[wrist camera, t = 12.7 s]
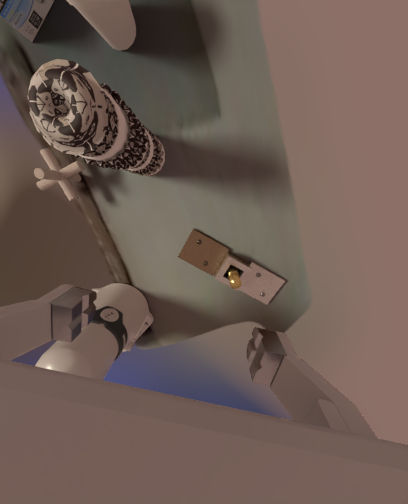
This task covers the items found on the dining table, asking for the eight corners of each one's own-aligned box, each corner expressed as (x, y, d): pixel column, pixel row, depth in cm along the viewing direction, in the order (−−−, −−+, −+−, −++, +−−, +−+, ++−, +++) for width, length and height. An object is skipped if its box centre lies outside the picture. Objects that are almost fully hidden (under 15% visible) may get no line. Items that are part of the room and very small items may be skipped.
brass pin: (235, 272, 49) (240, 289, 40) (225, 271, 49) (228, 287, 40) (237, 264, 48) (242, 279, 39) (227, 262, 48) (231, 277, 39)
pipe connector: (82, 145, 41) (44, 131, 32) (106, 189, 44) (77, 188, 34) (46, 165, 43) (-1, 157, 33) (71, 207, 45) (34, 210, 36)
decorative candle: (116, 144, 41) (-17, 76, 17) (153, 122, 40) (64, 15, 16) (138, 184, 43) (47, 174, 19) (174, 165, 42) (123, 129, 18)
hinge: (283, 279, 49) (290, 286, 45) (265, 302, 51) (270, 311, 47) (193, 228, 46) (192, 231, 42) (178, 255, 48) (175, 261, 44)
